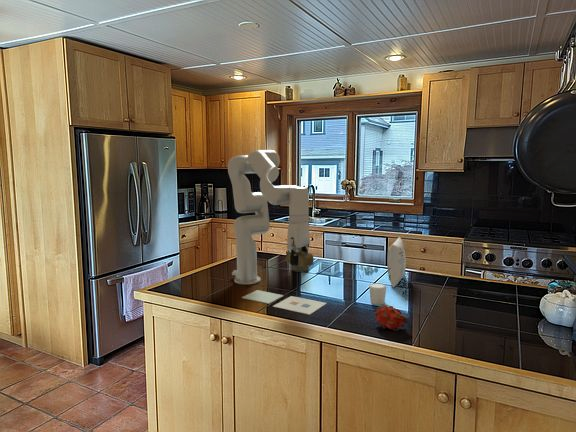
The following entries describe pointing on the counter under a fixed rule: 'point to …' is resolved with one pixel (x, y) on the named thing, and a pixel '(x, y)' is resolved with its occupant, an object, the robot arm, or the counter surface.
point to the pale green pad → (262, 296)
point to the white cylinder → (377, 293)
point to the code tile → (300, 305)
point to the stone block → (302, 258)
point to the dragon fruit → (390, 317)
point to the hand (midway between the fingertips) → (299, 262)
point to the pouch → (396, 261)
